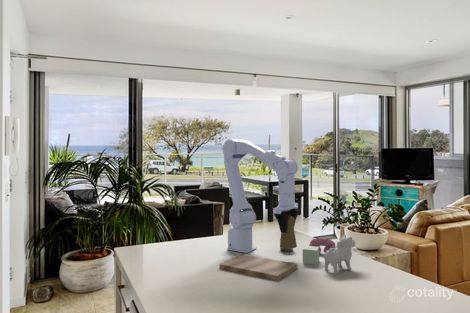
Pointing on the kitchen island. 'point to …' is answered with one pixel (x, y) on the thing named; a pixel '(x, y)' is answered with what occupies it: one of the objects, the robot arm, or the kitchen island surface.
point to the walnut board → (259, 266)
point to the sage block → (310, 255)
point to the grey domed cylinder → (286, 249)
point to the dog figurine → (339, 253)
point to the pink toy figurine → (322, 243)
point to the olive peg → (289, 236)
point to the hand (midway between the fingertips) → (287, 231)
